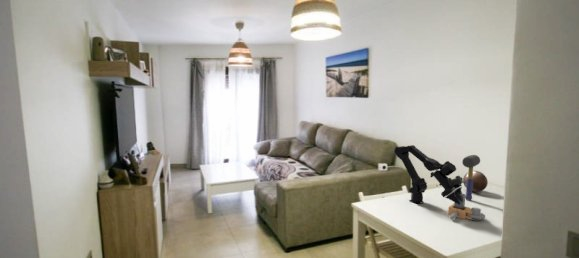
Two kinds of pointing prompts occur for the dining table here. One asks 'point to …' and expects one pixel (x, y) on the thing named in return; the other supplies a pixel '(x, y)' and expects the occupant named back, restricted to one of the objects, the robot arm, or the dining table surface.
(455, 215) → the bracket head
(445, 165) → the robot arm
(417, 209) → the dining table surface
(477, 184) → the wooden sphere
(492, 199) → the dining table surface
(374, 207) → the dining table surface
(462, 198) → the dark grey long block
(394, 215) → the dining table surface
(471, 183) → the rubber mallet
